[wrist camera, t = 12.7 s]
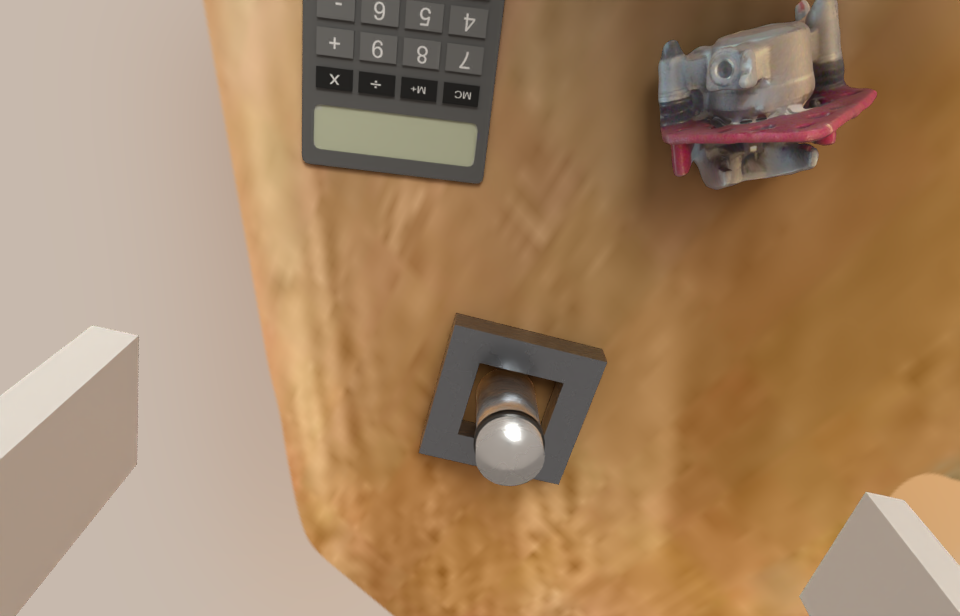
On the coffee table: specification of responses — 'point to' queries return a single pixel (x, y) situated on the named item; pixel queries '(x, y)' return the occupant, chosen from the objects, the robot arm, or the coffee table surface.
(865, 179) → the coffee table surface
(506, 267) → the coffee table surface
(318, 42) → the calculator
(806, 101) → the brake caliper
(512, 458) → the piston
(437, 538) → the coffee table surface
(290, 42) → the coffee table surface
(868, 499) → the robot arm
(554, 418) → the bore plate
